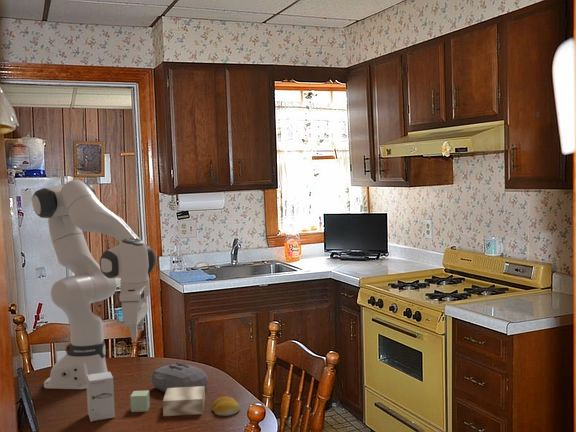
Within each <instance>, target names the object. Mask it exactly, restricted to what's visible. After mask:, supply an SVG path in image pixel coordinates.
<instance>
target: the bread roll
mask: <svg viewBox="0 0 576 432" xmlns="http://www.w3.org/2000/svg"><path fill="white" fill-rule="evenodd" d="M240 408H241V407H240V404H239V403H238V402H237V400H235V398H233V397H231V396H220V397H219V398H217V399H215V401H213V403H212V405H211V409H212V411H213V412H214V414H215V415H217V416H227V417H228V416H232V415H235V414H236V413H238V412H239V411H240Z"/></svg>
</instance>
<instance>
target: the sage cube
mask: <svg viewBox="0 0 576 432" xmlns="http://www.w3.org/2000/svg"><path fill="white" fill-rule="evenodd" d="M150 399H151V397H150V390H149V389H147V390H133V391H132V393H131V394H130V411H131V413H134V412H135V413H137V412H148V411H149V408H150V406H151V400H150Z"/></svg>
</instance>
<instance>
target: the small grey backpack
mask: <svg viewBox="0 0 576 432" xmlns="http://www.w3.org/2000/svg"><path fill="white" fill-rule="evenodd" d="M151 383H152V386H153V388H155V389H156V390H159V391H160V392H162V393H164V394H165V393H166V390H167V388H178V387H197V386H205V391H206V390H207V387H208V383H209V377H208V374H207V373H206V372H205V370H202V369H201V368H200V367H196V366H194V365H190V364H183V363H179V362H176V363H174V364H167V365H163V366H161V367H158V368H156V369H155V370H154V371H153V372H152V374H151Z"/></svg>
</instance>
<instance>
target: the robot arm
mask: <svg viewBox="0 0 576 432" xmlns="http://www.w3.org/2000/svg"><path fill="white" fill-rule="evenodd" d="M31 202H32V208H33V211H34V213H35V214H36V215H37V216H38V217H39V218H41V219H48V220H47V221H48V223H47V224H48V231H49V235H50V239H51V242H52V243H51V244H52V246H53V248H54V251H55V255H56V258H57V261H58V263H59V264H60V265H61V266H62V267H64V268H65V269H68V270H70V271H71V272H72V273H73V275H71V276H66V277H63V278H60V279H59V280H57V281H55V282H54V283H53V284H52V287H51V289H50V297H51V301H52V303H53V304H54V305H55V306H56V307H58V308H59V309H61V311H63V312H64V314H65V315H66V317H67V319H68V323H69V328H70V329H69V330H70V338H71V339H70V341H69V342H68V343H67V345H66V346H65V350H64V351H65V353H66V354H65V355H64V356H62V357H61V359H59V360H58V361H57V362H56V363H55V364H54V365H52V367H51V370H50V377H48V378H47V379H45V381H44V382H43V387H44V388H45V389H54V390H55V389H56V390H57V389H58V390H85V389H86V390H87V383H86V375H89V374H97V373H104V372H109V371H108V368H107V367H108V365H107V361H106V352H107V351H106V343H105V340H104V328H103V327H104V323H103V320H102V318H101V317H100V316H98V314H94V313H93V311H92V308H91V304H93V303H97V302H98V303H99V302H102V301H104V300H106V299H109V298H110V297H112V296H114V295H115V293H116V291H117V280H116V279H120V282H119V283H120V284H119V285H120V293H119V300H118V301H119V302H120V303H121V314H122V321H123V325H124V327H125V328H128V329H129V332H130V339H131V340H134V339H138V332H143V331H144V323H145V316H146V315H147V314H148V313H149V312H148V311H149V307H148V305H149V304H148V297H150V295H151V290H150V289H151V288H150V287H151V286H150V277H149V274H151V273H152V271H153V270H154V268H155V266H156V264H157V263H156V262H157V255H156V253H155V251H154V250H153V249H152V247H150V246H149V244H147V243H146V242H145V241H144V240H142V239H141V238H140V237H139V236H138V235H137V233H135V232H134V231H133V229H132V228H131V227H130V226H129V225H128V224H127V223H126V222H125V221H124V219H123V218H122V217H121V216H119V215H118V214H116V213H115V212H113V211H111V210H110V209H108V208H107V206H105V205H104V204H103V203H102V202H101V201H100V199H99V197H97V194H96V190H95V188H94V186H93V185H92V184H91V183H89V182H87V181H82V180H79V179H72V180H69V181H66V182H65V183H62V184H57V185H53V186H50V187H42V188H40V189H38V190H36V191H35V192H34V193H33V195H32V198H31ZM83 231H84V232H88V233H97V234H103V235H107V236H110V237H113V238H114V239H116V240H117V241H118V243H119V244H118V245H116V246H114V247H112V248H109V249H106V250H105V251H104V252H102V254H101V256H100V259H99V263H98V262H97V260H95V258H94V257H93V255H92V254H91V251H90V249H89V246H88V243H87V241H86V238H85V235H84V233H83Z"/></svg>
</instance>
